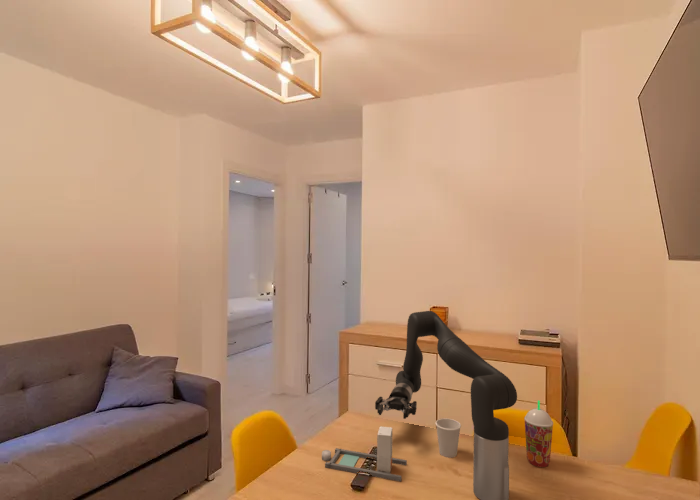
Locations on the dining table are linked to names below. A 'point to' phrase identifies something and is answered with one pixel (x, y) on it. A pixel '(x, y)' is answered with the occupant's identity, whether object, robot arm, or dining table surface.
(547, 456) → the smoothie
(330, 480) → the dining table surface
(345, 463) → the guide channel
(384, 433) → the skincare box
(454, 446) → the dixie cup
